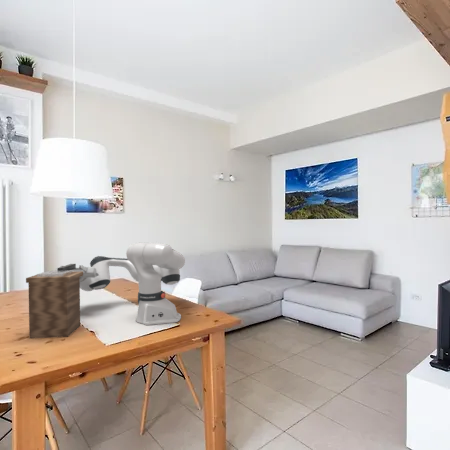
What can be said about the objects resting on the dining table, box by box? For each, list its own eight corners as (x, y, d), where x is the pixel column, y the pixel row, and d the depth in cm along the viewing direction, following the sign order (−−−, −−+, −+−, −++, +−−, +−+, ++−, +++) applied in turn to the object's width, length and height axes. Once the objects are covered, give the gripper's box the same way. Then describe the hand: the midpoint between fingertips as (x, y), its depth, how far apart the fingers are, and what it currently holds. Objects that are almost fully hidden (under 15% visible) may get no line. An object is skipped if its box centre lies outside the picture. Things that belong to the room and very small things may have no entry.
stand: (84, 324, 152) (83, 271, 152) (70, 336, 136) (69, 277, 136) (45, 326, 151) (44, 272, 151) (27, 338, 135) (25, 278, 135)
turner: (84, 268, 163) (84, 263, 163) (62, 276, 138) (62, 271, 138) (62, 268, 162) (62, 264, 162) (36, 277, 137) (36, 271, 137)
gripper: (98, 281, 171) (91, 272, 159) (60, 282, 169) (49, 273, 157) (100, 270, 174) (92, 260, 162) (62, 271, 173) (51, 261, 161)
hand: (71, 266), depth 160 cm, fingers open, 8 cm apart
